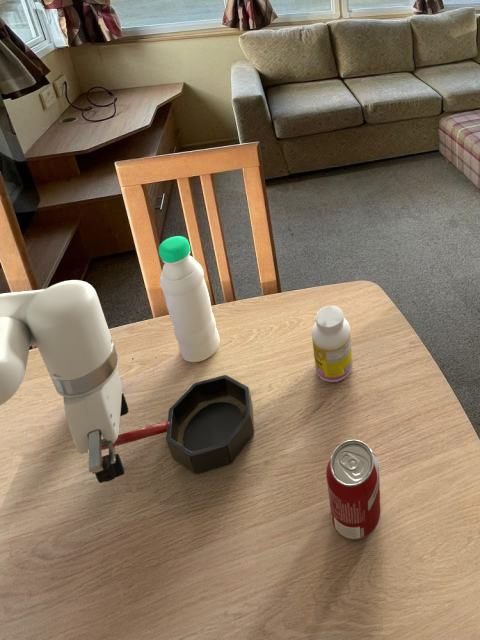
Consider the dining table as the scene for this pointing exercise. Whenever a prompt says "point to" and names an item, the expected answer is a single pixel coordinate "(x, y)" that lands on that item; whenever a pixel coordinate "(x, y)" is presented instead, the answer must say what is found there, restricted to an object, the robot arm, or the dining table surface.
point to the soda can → (354, 489)
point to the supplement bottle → (332, 344)
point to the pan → (204, 426)
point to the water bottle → (187, 301)
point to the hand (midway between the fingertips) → (115, 444)
